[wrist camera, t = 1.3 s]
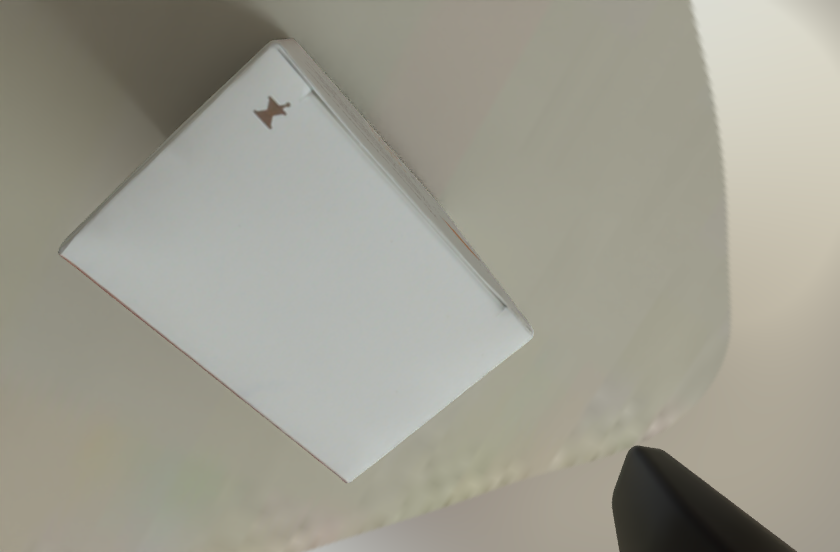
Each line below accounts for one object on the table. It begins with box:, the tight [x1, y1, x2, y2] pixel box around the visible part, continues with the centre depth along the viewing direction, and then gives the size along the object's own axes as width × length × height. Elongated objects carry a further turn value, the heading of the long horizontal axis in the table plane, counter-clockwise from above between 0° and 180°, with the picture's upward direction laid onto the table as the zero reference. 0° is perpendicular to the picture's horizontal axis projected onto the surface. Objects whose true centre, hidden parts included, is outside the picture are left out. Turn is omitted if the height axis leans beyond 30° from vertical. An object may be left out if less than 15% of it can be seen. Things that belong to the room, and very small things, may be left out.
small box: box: [58, 38, 534, 483], centre depth 17 cm, size 8×6×10 cm
